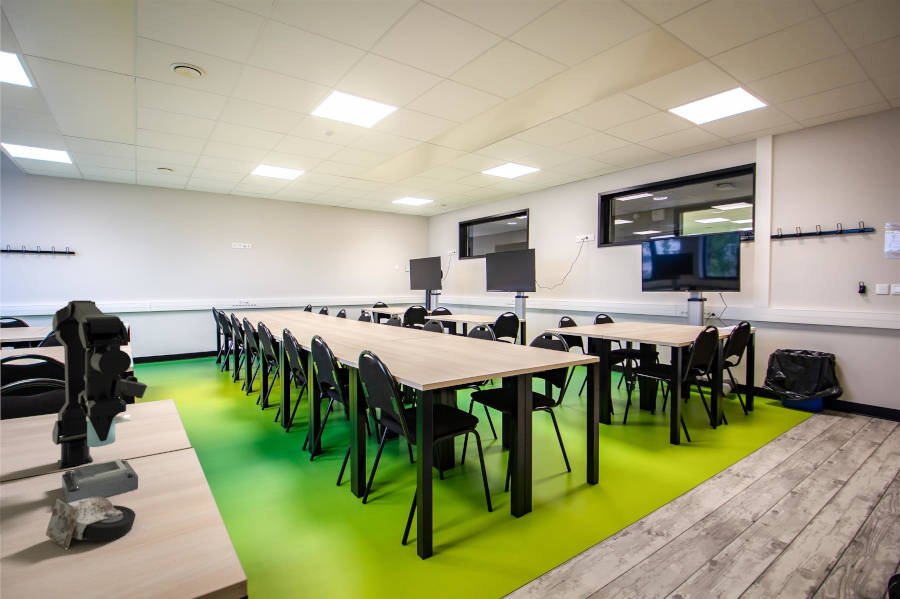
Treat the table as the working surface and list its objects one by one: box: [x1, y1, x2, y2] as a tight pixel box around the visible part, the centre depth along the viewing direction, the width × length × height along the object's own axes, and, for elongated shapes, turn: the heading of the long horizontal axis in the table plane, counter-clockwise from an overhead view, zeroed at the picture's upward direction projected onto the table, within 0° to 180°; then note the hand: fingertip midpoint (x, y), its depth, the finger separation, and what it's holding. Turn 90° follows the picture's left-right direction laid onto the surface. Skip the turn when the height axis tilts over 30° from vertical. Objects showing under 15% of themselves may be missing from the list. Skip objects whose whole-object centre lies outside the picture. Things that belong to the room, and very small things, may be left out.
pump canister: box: [86, 413, 131, 448], centre depth 99 cm, size 5×8×7 cm
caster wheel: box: [45, 497, 137, 550], centre depth 79 cm, size 7×11×10 cm
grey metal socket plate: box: [61, 458, 139, 504], centre depth 98 cm, size 13×12×4 cm
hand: (101, 438), depth 98 cm, fingers closed on pump canister, 5 cm apart
